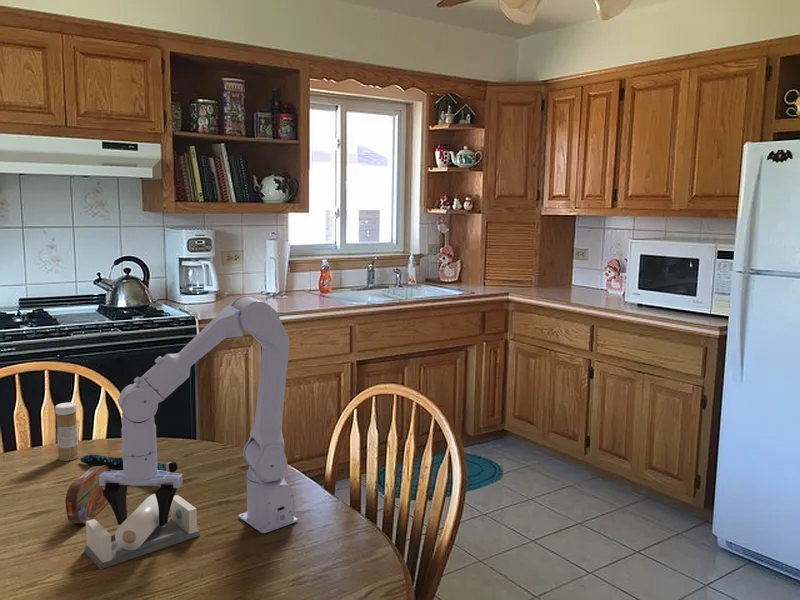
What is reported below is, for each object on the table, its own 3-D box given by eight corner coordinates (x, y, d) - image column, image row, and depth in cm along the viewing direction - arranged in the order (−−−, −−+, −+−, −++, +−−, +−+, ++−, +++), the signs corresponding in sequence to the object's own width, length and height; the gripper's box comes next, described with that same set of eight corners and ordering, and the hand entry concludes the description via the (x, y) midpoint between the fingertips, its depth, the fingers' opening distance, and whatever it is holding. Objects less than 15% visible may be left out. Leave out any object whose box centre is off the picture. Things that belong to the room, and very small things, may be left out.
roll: (169, 520, 129) (171, 495, 128) (142, 552, 117) (143, 525, 116) (143, 516, 129) (145, 492, 128) (114, 548, 117) (115, 521, 116)
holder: (199, 535, 126) (199, 507, 125) (100, 569, 114) (98, 538, 113) (181, 520, 132) (180, 494, 131) (84, 551, 120) (82, 522, 119)
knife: (180, 480, 148) (178, 460, 148) (170, 485, 146) (168, 464, 145) (91, 467, 163) (89, 449, 163) (80, 471, 161) (78, 453, 160)
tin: (80, 531, 127) (77, 489, 126) (63, 531, 127) (61, 488, 126) (115, 497, 142) (113, 459, 141) (100, 497, 142) (98, 458, 141)
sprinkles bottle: (65, 454, 166) (62, 401, 164) (82, 455, 166) (80, 402, 164) (54, 461, 162) (50, 406, 160) (72, 462, 161) (69, 407, 159)
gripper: (187, 444, 124) (190, 514, 126) (110, 442, 125) (114, 511, 127) (173, 458, 117) (176, 532, 119) (91, 456, 118) (95, 529, 120)
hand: (143, 523), depth 122 cm, fingers open, 7 cm apart
